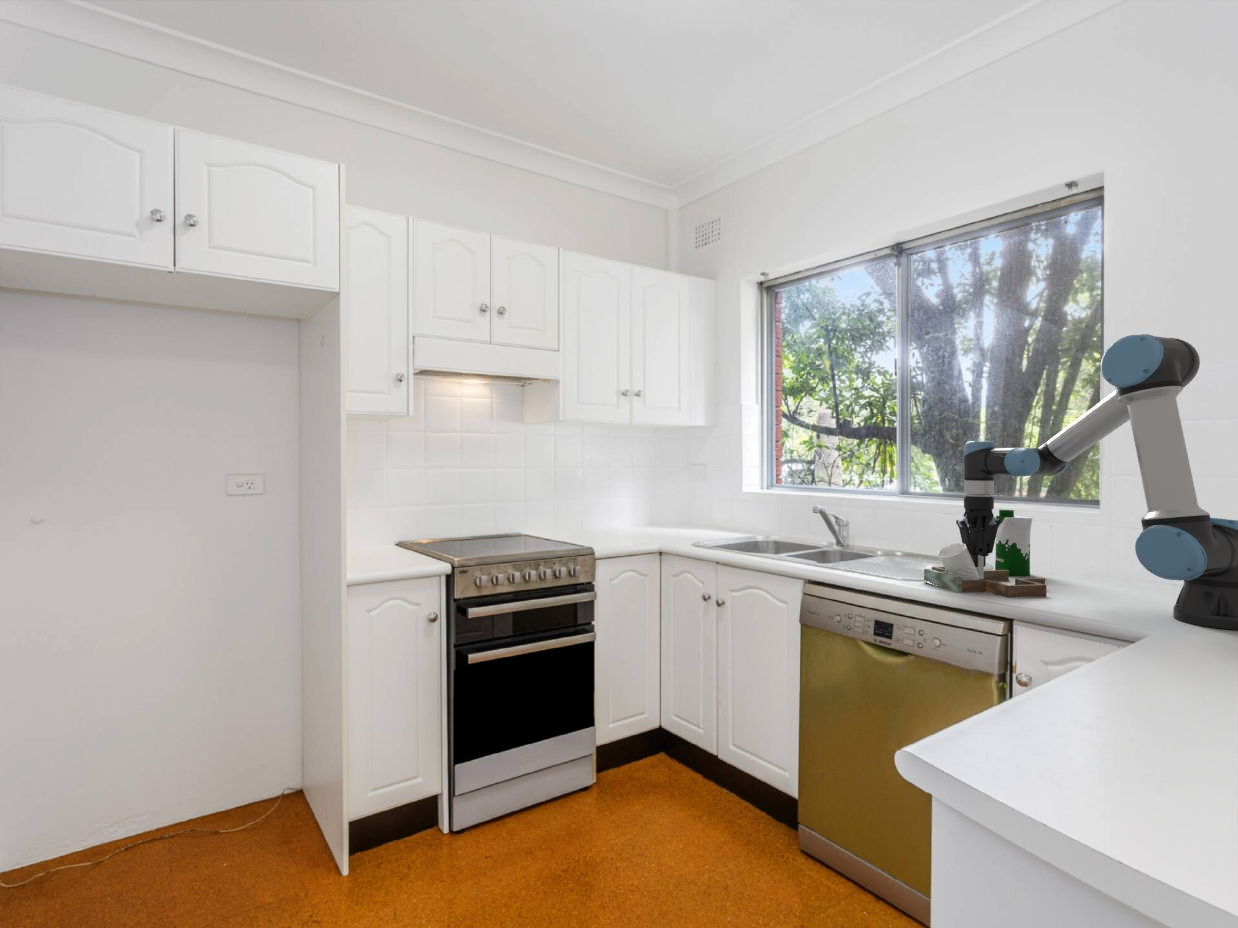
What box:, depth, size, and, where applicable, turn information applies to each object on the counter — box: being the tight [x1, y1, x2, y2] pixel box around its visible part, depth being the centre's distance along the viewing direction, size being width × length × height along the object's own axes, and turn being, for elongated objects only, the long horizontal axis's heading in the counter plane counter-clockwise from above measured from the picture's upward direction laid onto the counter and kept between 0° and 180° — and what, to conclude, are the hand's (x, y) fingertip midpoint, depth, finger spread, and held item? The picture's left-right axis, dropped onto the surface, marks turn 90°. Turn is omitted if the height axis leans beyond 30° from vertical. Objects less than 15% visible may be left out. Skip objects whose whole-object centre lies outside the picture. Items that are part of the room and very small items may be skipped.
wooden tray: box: [923, 566, 1047, 599], centre depth 191 cm, size 31×27×4 cm
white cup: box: [936, 542, 979, 580], centre depth 190 cm, size 8×8×10 cm
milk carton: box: [993, 509, 1033, 577], centre depth 211 cm, size 9×9×20 cm
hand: (977, 578), depth 191 cm, fingers closed
